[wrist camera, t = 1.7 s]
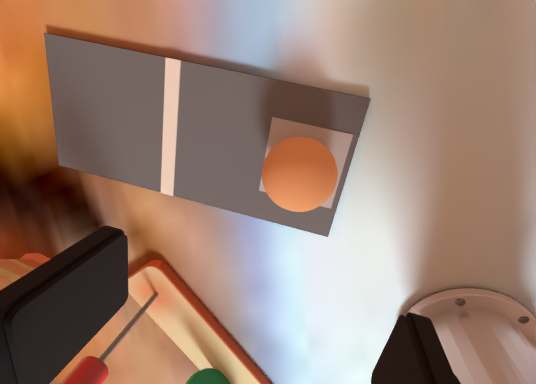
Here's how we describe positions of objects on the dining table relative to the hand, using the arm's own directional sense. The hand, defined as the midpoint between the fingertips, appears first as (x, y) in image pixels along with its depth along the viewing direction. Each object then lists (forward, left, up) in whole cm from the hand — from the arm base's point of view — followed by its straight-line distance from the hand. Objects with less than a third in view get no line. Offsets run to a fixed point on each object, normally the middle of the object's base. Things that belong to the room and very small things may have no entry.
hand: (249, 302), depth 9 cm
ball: (0, 0, -14) cm, 15 cm away
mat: (+11, 0, -18) cm, 21 cm away
